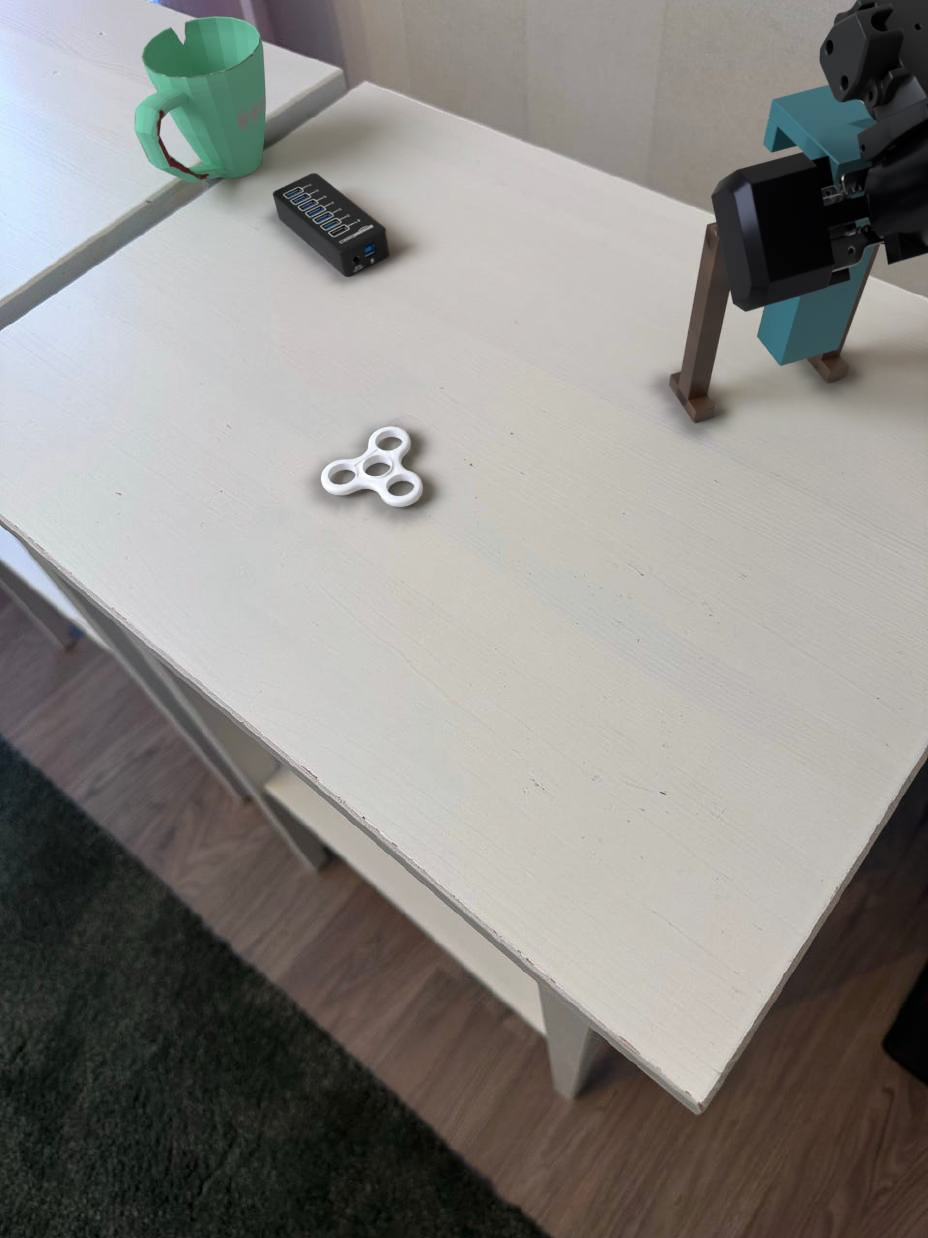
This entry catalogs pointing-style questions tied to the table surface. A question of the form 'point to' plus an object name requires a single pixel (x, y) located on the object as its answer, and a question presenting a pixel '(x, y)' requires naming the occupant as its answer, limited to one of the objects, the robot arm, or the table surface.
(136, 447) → the table surface
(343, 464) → the fidget spinner
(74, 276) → the table surface
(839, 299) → the teal angular block
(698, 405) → the rack
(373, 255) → the multiport hub
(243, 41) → the mug
